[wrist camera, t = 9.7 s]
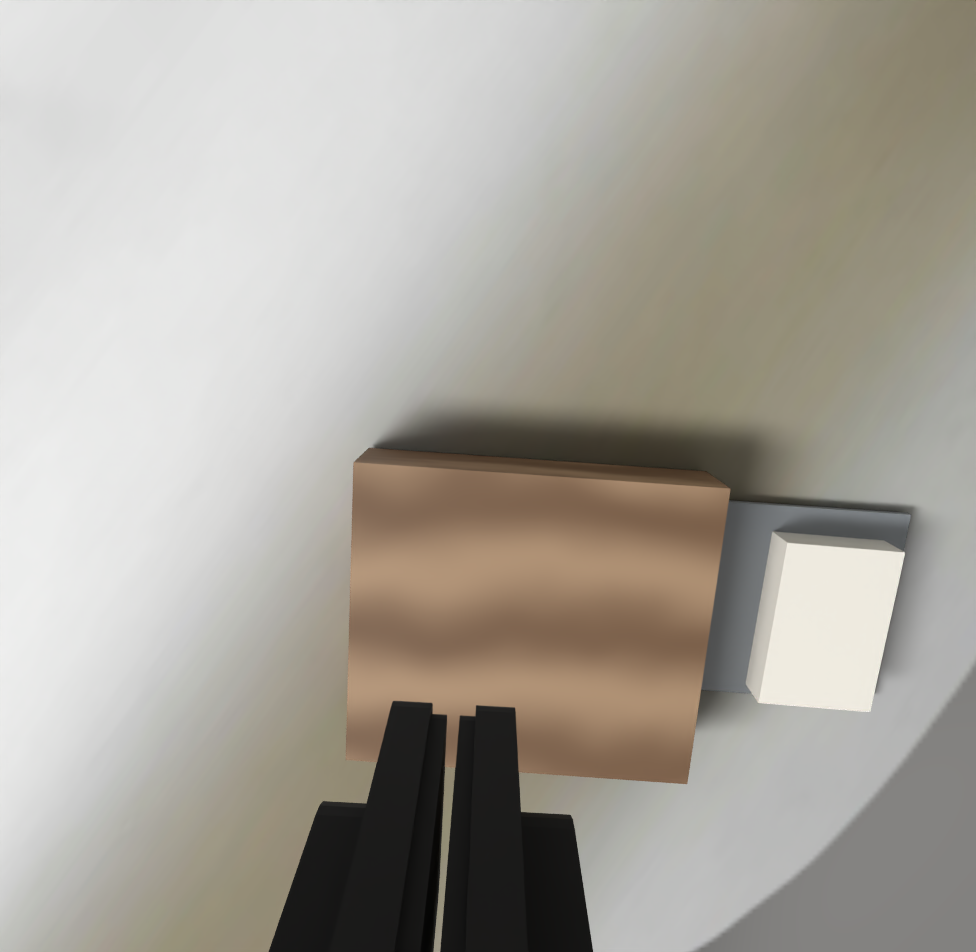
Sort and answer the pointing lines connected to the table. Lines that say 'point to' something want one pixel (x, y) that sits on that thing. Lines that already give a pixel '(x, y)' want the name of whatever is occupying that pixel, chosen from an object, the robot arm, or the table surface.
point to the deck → (535, 605)
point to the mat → (747, 570)
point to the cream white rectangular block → (823, 621)
